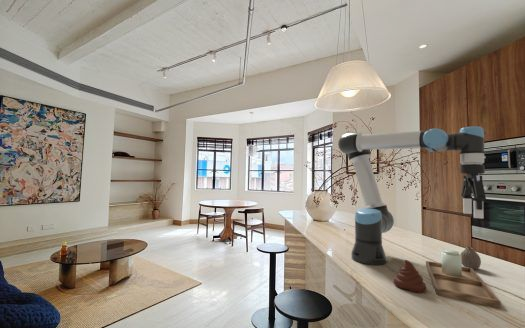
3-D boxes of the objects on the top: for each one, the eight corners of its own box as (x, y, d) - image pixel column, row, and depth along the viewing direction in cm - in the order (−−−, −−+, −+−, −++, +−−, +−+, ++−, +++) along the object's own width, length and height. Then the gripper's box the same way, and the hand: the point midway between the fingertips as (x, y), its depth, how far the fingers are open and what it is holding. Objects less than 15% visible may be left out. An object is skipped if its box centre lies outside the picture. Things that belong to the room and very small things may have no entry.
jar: (443, 274, 94) (442, 251, 94) (440, 269, 99) (440, 247, 100) (463, 278, 91) (463, 254, 91) (460, 272, 96) (459, 250, 97)
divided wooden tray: (435, 294, 79) (435, 288, 79) (425, 265, 106) (425, 260, 106) (500, 308, 71) (500, 301, 71) (471, 272, 98) (471, 268, 98)
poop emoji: (391, 287, 84) (390, 260, 84) (396, 279, 90) (395, 254, 91) (425, 296, 77) (424, 267, 78) (427, 287, 84) (427, 260, 84)
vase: (485, 271, 100) (484, 250, 100) (466, 270, 101) (465, 249, 102) (474, 265, 107) (473, 246, 107) (456, 264, 108) (456, 245, 108)
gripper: (496, 162, 85) (498, 221, 84) (473, 165, 107) (474, 212, 106) (470, 162, 89) (470, 219, 88) (452, 165, 111) (453, 211, 110)
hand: (472, 215), depth 97 cm, fingers open, 13 cm apart
